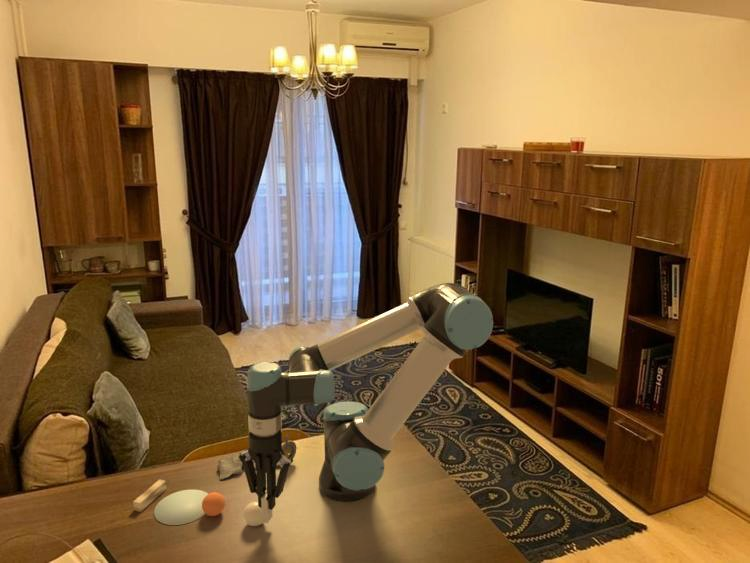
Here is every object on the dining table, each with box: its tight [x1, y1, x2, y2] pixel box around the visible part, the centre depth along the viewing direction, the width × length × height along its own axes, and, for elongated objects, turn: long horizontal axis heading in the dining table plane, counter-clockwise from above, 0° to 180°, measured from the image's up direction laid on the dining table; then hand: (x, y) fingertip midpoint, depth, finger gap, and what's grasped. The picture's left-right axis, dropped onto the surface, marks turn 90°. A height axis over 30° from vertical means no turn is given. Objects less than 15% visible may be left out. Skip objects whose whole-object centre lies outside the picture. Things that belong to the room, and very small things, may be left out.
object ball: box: [202, 491, 226, 517], centre depth 138 cm, size 6×6×6 cm
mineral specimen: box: [216, 449, 245, 481], centre depth 158 cm, size 6×12×4 cm, turn 126°
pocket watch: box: [276, 433, 297, 468], centre depth 159 cm, size 8×8×10 cm
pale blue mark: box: [153, 489, 209, 526], centre depth 141 cm, size 14×14×1 cm
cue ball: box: [243, 501, 264, 527], centre depth 134 cm, size 6×6×6 cm
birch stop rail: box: [132, 479, 168, 513], centre depth 144 cm, size 10×2×2 cm, turn 162°
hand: (267, 519), depth 133 cm, fingers closed
